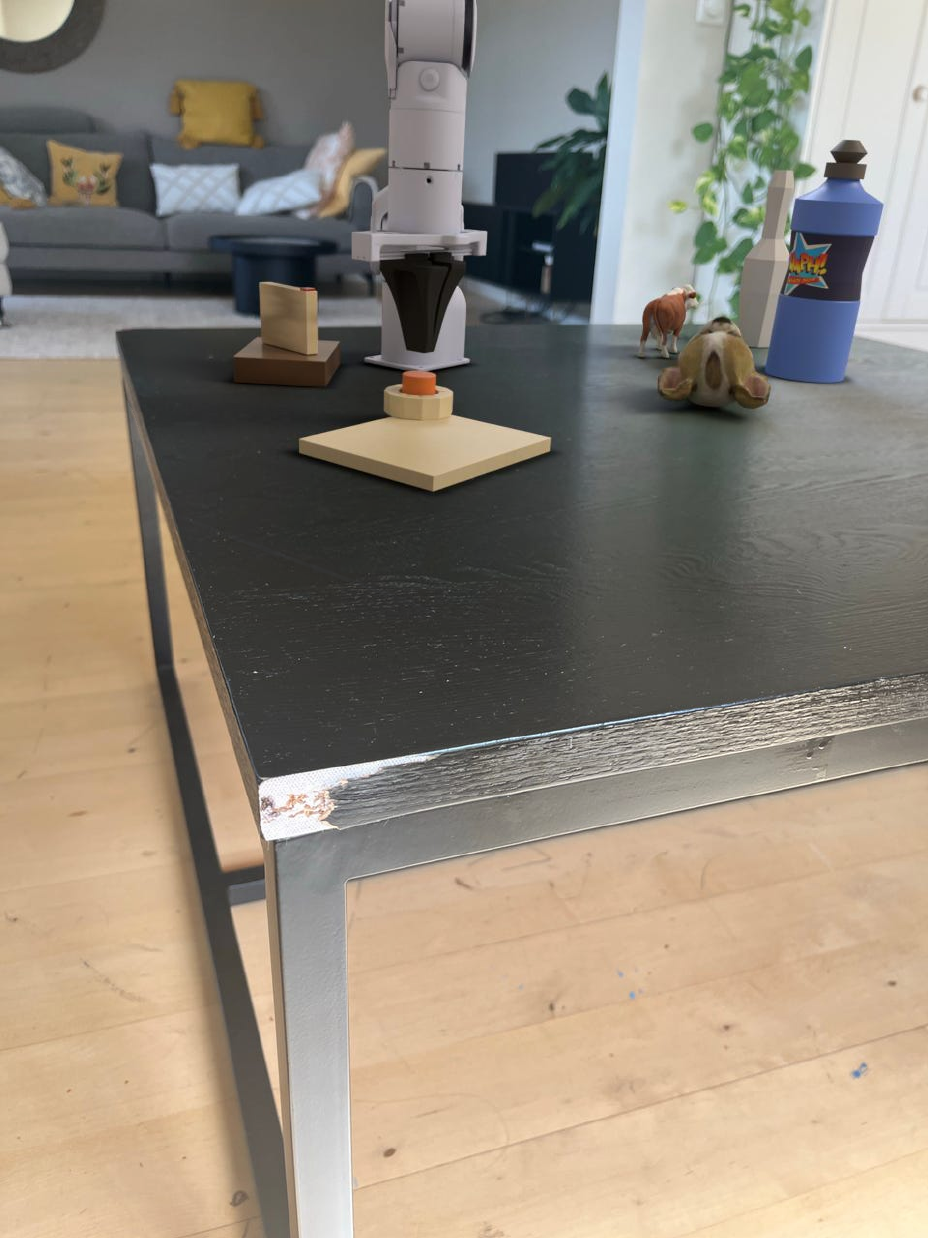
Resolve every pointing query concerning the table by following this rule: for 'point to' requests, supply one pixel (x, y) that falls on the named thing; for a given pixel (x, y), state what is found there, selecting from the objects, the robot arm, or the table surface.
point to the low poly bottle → (766, 266)
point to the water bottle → (825, 273)
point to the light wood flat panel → (289, 317)
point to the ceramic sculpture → (715, 370)
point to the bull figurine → (667, 318)
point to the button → (418, 383)
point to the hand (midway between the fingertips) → (420, 350)
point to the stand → (286, 364)
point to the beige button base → (424, 443)
